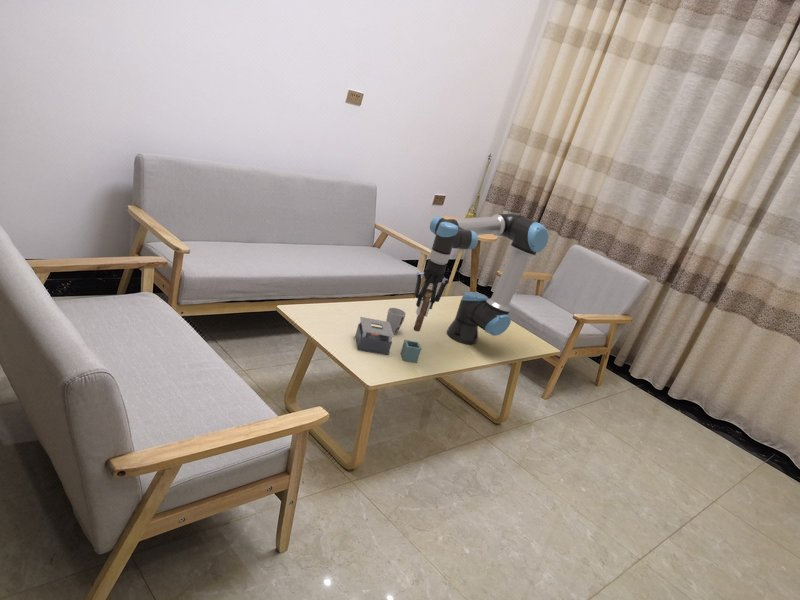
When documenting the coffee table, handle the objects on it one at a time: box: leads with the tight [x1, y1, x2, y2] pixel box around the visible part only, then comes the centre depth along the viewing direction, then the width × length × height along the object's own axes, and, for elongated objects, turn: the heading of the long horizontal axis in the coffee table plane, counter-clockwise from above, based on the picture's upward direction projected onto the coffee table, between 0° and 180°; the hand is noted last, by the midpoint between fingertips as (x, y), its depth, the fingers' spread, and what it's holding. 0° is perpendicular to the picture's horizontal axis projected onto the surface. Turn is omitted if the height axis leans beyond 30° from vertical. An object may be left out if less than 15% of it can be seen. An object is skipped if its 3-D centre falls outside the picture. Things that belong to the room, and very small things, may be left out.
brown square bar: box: [413, 288, 432, 332], centre depth 220 cm, size 3×3×18 cm
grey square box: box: [354, 316, 395, 356], centre depth 227 cm, size 13×13×9 cm
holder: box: [400, 339, 422, 364], centre depth 226 cm, size 6×6×7 cm
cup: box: [385, 307, 407, 335], centre depth 246 cm, size 8×8×10 cm
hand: (421, 314), depth 220 cm, fingers closed on brown square bar, 3 cm apart
